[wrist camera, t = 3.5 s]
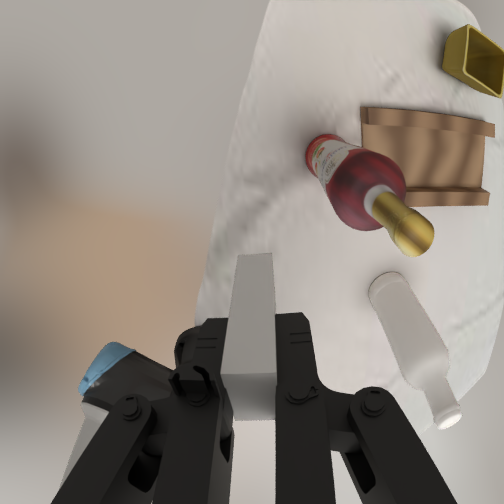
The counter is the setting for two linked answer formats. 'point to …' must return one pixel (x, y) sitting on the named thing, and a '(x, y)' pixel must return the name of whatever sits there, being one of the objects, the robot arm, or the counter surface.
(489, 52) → the flower pot
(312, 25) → the counter surface
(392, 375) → the counter surface
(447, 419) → the bottle
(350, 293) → the counter surface
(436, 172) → the rest
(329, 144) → the liquor
